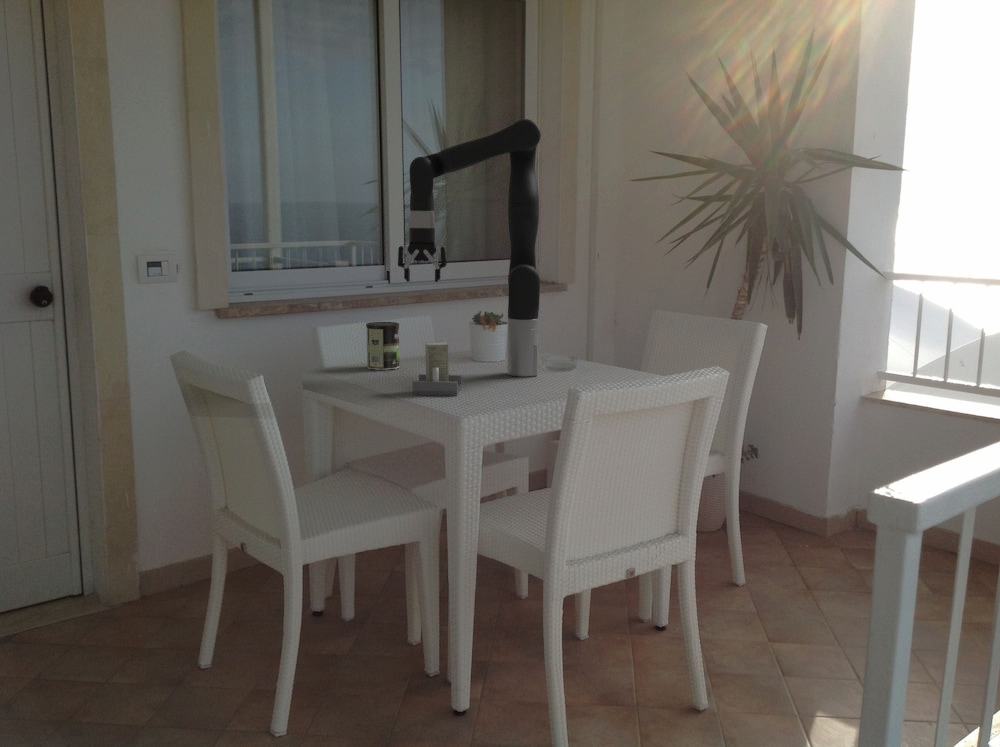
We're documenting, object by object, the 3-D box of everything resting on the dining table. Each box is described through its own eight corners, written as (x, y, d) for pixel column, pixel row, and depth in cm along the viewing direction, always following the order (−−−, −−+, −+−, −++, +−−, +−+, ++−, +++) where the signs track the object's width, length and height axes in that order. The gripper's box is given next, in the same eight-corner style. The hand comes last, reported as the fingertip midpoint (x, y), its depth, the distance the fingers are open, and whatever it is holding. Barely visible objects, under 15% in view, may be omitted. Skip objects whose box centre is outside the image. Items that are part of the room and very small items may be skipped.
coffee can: (400, 365, 302) (399, 321, 299) (399, 370, 292) (398, 325, 289) (367, 365, 301) (367, 321, 299) (365, 370, 291) (364, 325, 288)
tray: (461, 387, 266) (461, 362, 265) (457, 395, 254) (457, 369, 253) (419, 386, 267) (419, 361, 266) (412, 394, 255) (412, 368, 254)
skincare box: (447, 384, 263) (447, 341, 261) (449, 388, 259) (449, 344, 256) (425, 385, 262) (425, 341, 260) (426, 388, 258) (425, 344, 256)
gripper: (447, 226, 281) (447, 281, 284) (400, 226, 282) (400, 280, 285) (444, 227, 274) (444, 283, 276) (395, 226, 274) (396, 282, 277)
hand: (422, 281), depth 281 cm, fingers open, 8 cm apart
